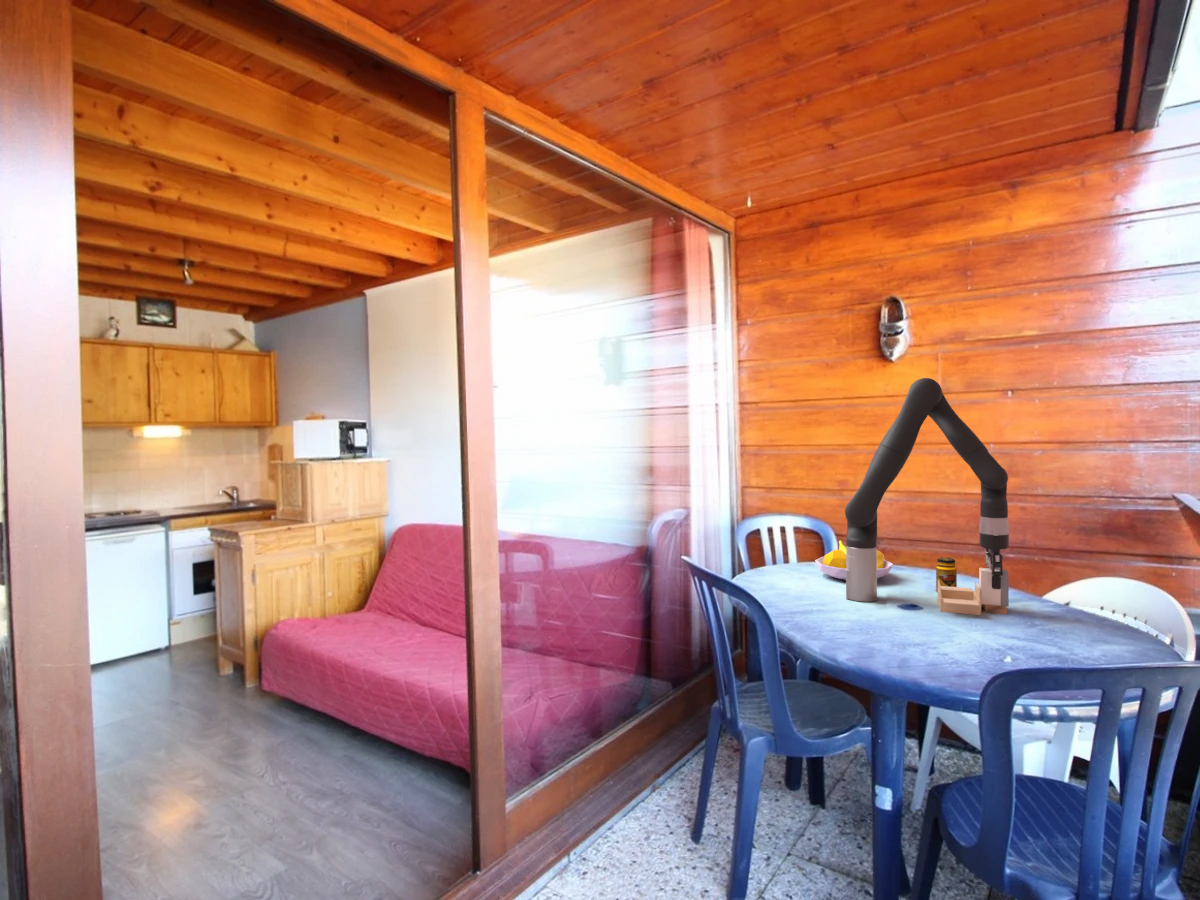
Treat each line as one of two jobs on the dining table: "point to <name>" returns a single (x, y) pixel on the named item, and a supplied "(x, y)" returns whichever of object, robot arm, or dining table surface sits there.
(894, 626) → the dining table surface
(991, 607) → the stand
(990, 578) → the box
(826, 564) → the fruit bowl
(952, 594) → the wooden tray
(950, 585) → the condiment
